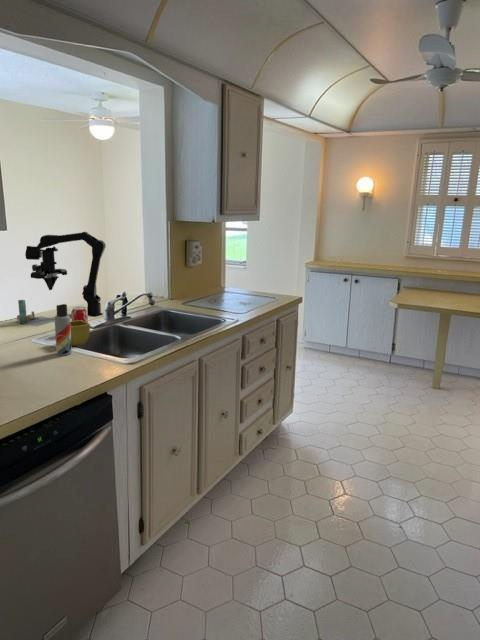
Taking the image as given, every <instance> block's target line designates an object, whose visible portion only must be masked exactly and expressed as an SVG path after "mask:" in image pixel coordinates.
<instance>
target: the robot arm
mask: <svg viewBox="0 0 480 640" xmlns="http://www.w3.org/2000/svg"><path fill="white" fill-rule="evenodd" d="M76 241H84V242H85V243H86V244H88V246H90V247H91V254H92V258H91V259H92V260H91V265H90V270H89V276H88V281H87V285H86V284H84V286H83V289H82V293H81V295H82V299H84V301H85V302H86V303H87V304H86V305H87V307H86V310H87V312H88V317H89V316H91V317H97V316H102V315H104V312H102V311H101V310H102V309H101V307H102V304H101V299H102V298H101V297H100V296H99V294H97V280H98V273H99V269H100V264H101V259H102V257H103V254H104V252H105V249H106V243H105V242H104V241H103V240H102V239H98V238H96V237H95V236H93V235H92V234H90V233H88V232H87V231H83V232H75V233H69V234H68V233H67V234H61V235H60V234H45V235H42V236H41V237H40V239H39V243H38V244H37V245H36V246H34V245H33V246H32V245H26V249H25V255H24V256H25V258H26V260H27V261H28V260H34V261H35V260H36V261H37V260H40V259H42V261H40V264H37V263H35V264H32V265H31V269H32V272H30V278H31V279H37V280H40V279H42V280H43V281H44V282H45V284H46V286H47V289H48V291H52V290H53V289H54V286H55V284H56V281H57V280H58V279H59V278H60V277H59V276H58V275H62V276H67V275H68V270H67V269H66V268H65V269H64V268H56V265H57V264H58V263H57V261H55V252H58V251H59V248H57V247H56V246H55V245H58V244H62V243H71V242H76ZM51 246H52V247H51Z"/></svg>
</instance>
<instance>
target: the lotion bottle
mask: <svg viewBox="0 0 480 640" xmlns="http://www.w3.org/2000/svg"><path fill="white" fill-rule="evenodd" d="M55 308H56V315H55V316H54V319H55V322H54V331H55V332H54V333H55V348H56V350H55V351H56V354H57V356H60V357H62V356H69V355H71V354H72V353H73V347H72V346H73V345H72V342H71V323H70V322H71V315H69V314H68V305H67V303H62V304H58V305H56V307H55Z"/></svg>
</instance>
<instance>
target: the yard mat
mask: <svg viewBox="0 0 480 640" xmlns="http://www.w3.org/2000/svg"><path fill="white" fill-rule="evenodd" d="M36 317H37V318H39V319H37V320H28V321H27V323H25V324H24V325H27V326H28V325H29V326H33V327H40V326H44V325H48V324H51V323H55V318H52V317H47V316H43V315H39V316H36ZM17 323H18V324H21V323H20V322H17Z"/></svg>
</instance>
